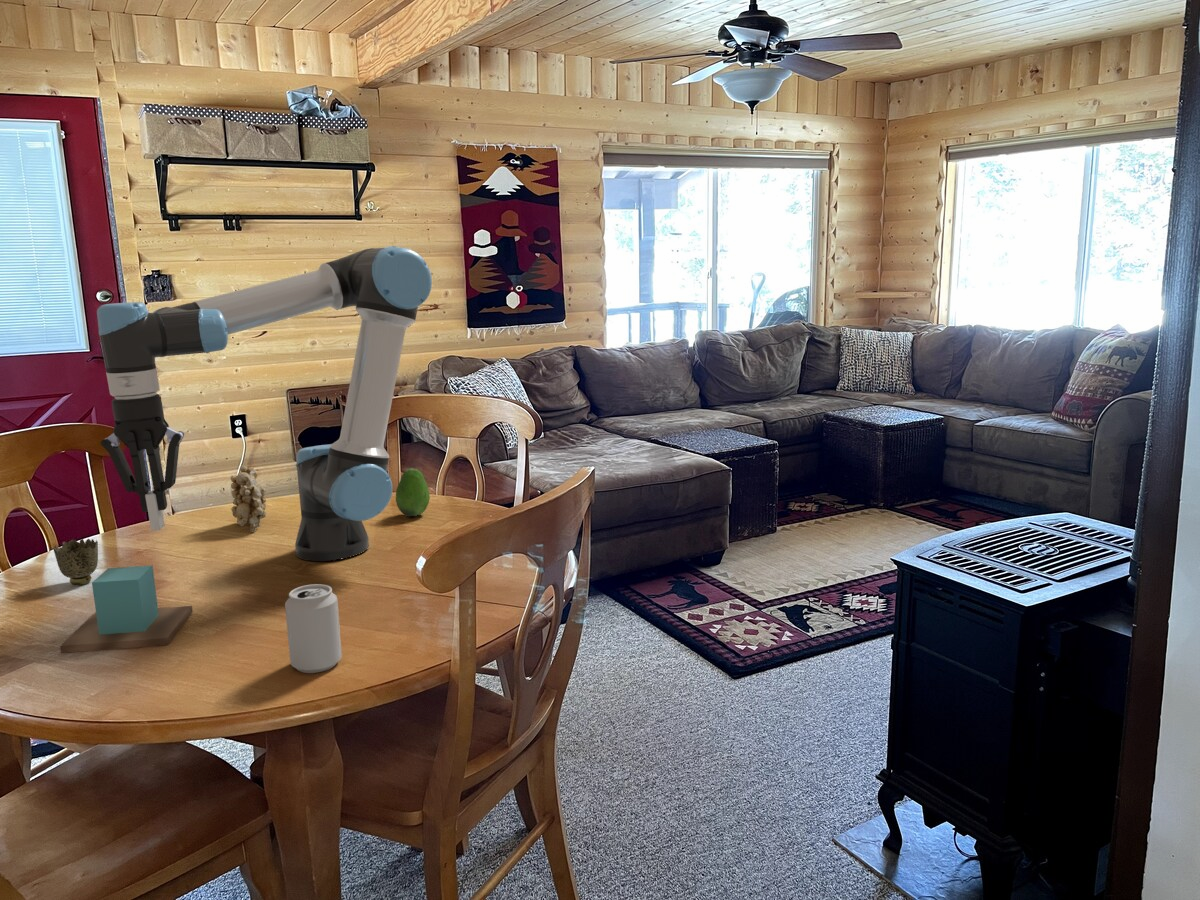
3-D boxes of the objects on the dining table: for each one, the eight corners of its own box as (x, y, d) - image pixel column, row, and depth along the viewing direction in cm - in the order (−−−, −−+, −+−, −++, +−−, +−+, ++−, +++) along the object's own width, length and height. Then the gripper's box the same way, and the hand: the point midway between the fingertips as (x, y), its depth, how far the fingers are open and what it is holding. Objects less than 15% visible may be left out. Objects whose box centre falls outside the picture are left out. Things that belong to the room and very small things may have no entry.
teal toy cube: (158, 615, 151) (152, 565, 149) (144, 631, 144) (138, 579, 142) (115, 618, 150) (108, 568, 148) (99, 634, 143) (91, 582, 141)
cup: (82, 591, 166) (77, 551, 164) (49, 589, 168) (43, 549, 166) (111, 577, 173) (106, 539, 172) (79, 575, 175) (74, 537, 173)
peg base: (192, 612, 155) (188, 573, 154) (167, 644, 142) (162, 602, 140) (95, 619, 153) (90, 579, 151) (60, 653, 139) (54, 610, 138)
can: (297, 655, 137) (291, 582, 135) (346, 652, 138) (340, 580, 135) (285, 676, 130) (277, 600, 127) (336, 674, 130) (330, 598, 128)
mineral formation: (265, 518, 214) (259, 458, 211) (276, 531, 203) (270, 468, 199) (230, 523, 210) (224, 462, 207) (240, 537, 199) (233, 473, 195)
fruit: (403, 511, 218) (400, 464, 216) (434, 511, 217) (431, 464, 215) (392, 520, 210) (389, 471, 208) (424, 520, 210) (422, 471, 207)
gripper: (85, 402, 143) (110, 538, 149) (170, 395, 146) (192, 530, 151) (101, 394, 150) (125, 525, 156) (182, 389, 153) (202, 518, 158)
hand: (158, 528), depth 153 cm, fingers closed
